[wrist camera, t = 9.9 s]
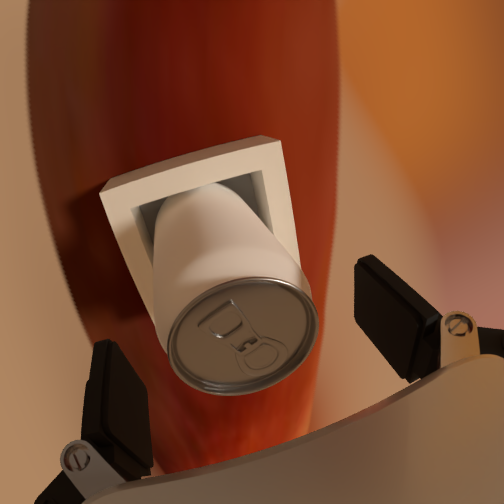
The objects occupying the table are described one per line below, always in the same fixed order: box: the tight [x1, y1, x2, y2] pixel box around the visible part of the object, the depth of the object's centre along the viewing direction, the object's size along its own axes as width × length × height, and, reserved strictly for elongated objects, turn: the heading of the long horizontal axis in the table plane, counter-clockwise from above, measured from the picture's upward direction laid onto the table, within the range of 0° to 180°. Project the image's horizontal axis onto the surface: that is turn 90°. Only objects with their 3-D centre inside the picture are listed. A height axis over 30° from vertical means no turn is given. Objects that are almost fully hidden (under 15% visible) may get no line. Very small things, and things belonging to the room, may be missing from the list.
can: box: [153, 182, 319, 396], centre depth 16 cm, size 6×6×12 cm
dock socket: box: [99, 135, 301, 325], centre depth 20 cm, size 10×10×4 cm
